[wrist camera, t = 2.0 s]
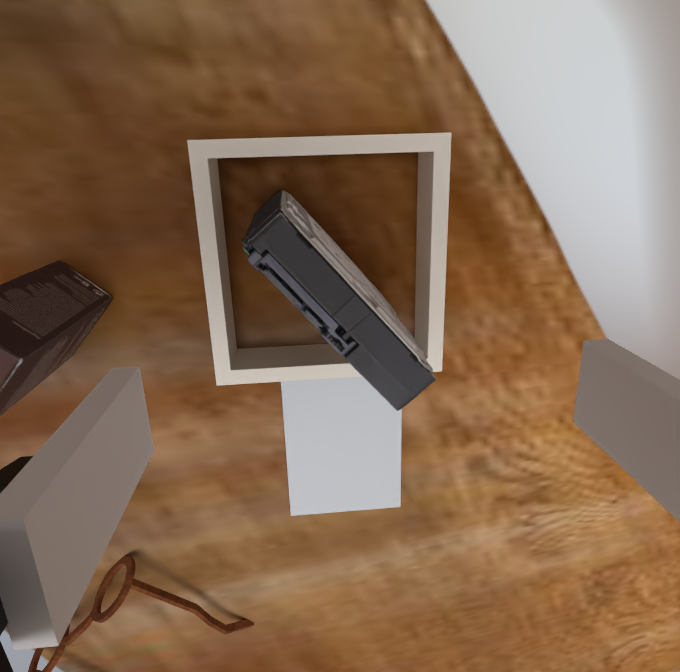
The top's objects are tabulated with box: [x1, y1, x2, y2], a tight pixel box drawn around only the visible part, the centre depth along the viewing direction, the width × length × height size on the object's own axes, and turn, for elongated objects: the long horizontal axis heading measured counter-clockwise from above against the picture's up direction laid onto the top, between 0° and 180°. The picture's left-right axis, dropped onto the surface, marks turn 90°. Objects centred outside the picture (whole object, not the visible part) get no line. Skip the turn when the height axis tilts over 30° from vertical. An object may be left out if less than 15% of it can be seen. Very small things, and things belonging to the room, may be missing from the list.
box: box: [0, 261, 112, 416], centre depth 29 cm, size 6×4×12 cm
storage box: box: [187, 133, 451, 385], centre depth 34 cm, size 15×15×4 cm
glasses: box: [28, 556, 254, 672], centre depth 43 cm, size 13×13×5 cm
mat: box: [281, 376, 402, 516], centre depth 40 cm, size 12×9×1 cm
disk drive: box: [242, 190, 436, 411], centre depth 28 cm, size 10×3×15 cm, turn 42°
